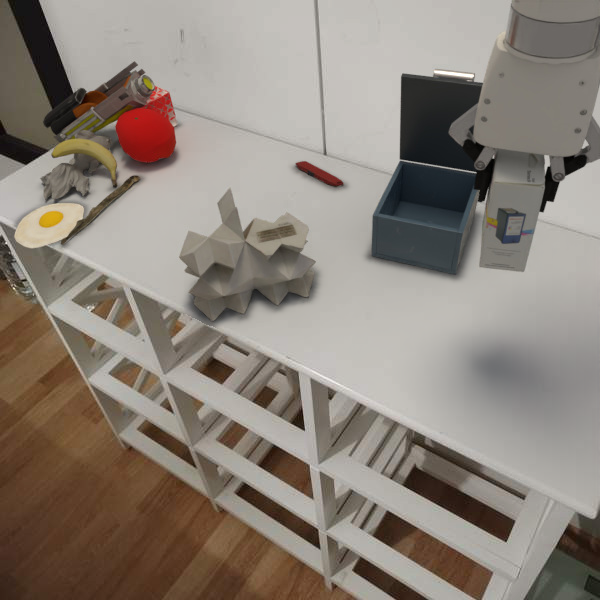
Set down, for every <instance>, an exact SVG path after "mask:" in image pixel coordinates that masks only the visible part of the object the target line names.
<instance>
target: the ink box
mask: <svg viewBox="0 0 600 600" xmlns="http://www.w3.org/2000/svg"><path fill="white" fill-rule="evenodd" d="M493 159H494V163H493V168H492V173H491V178H490V183H489V187H488V191H487V194H486V198H485V206H484V213H483V217H482V225H481V241H480V255H479V264H478V266H479V268H482V269H483V268H484V269H490V270H501V271H509V272H516V273H517V272H518V273H520V272H521V273H524V272H525V269H526V267H527V263H528V259H529V255H530V251H531V247H532V243H533V239H534V236H535V231H536V227H537V223H538V220H539V219H538V218H539V215H540V212H539V211H540V207H541V203H542V198H543V194H544V190H545V174H546V170H545V169H546V168H545V167H546V159H545V155H541V154H534V153H526V152H519V151H512V150H505V149H497V151H496V153H495V154H494V156H493Z"/></svg>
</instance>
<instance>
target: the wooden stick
mask: <svg viewBox="0 0 600 600" xmlns="http://www.w3.org/2000/svg"><path fill="white" fill-rule="evenodd" d="M140 180H141V177H140V176H139V175H136V174H135V175H131V176H129V177H128V178H127V179H126V180H125V181H124V182H123V183H122V184H121V185H120V186H119V187H117V188H116V189H115V190H113V191H112V192H111V193H109V194H108V195H107V196H105V197H104V198H103V199H102V200H101V201H100V202H99V203H98V204H96V206H94V207H91V210H89V213H88V214H87V215H86V217H84V218H83V219H82V220H79V221H77V224H76V226H75V227H74V229H73V230H72V231H71V232H70V233H69V235H68V236H67V237H65V238H63V239H62V240H60V245H61V246H63V245H65V244H66V242H68V240H69V239H71V238H72V237H73V236H74V235H76V234H77V233H79V232H80V231H81V230H83V229H84V228H85V227H87V226H88V225H89V224H90V223H91V222H92V221H93V220H94V219H95V218H96V217H97V216H98V215H99V214H100V213H101V212H102V211H103V210H104V209H105V208H106V207H108V206H109V205H110V204H111V203H112V202H113V201H114V200H116V199H117V198H118V197H120V196H121V195H122V194H123V193H125V192H126V191H127V190H129V188H130V187H131V186H132V185H133V184H134V183H137V182H139V181H140Z"/></svg>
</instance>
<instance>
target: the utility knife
mask: <svg viewBox="0 0 600 600" xmlns="http://www.w3.org/2000/svg"><path fill="white" fill-rule="evenodd" d="M295 166H296V167H297V168H298V170H301V171H302V172H304V173H307V175H308V176H311V177H312V178H315V179H317V180H318V181H321V182H323V183H324V184H327V185H329V186H333V187H338V186H343V185H344V182H343V180H342V179H340V178H339V177H337V176H335V175H333V174H331V173H330V172H327V171H326V170H324V169H321V168H320V167H318V166H316V165H314V164H312V163H310V162H308V161H306V160H301V161H298V162H295Z"/></svg>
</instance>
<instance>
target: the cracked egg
mask: <svg viewBox="0 0 600 600" xmlns="http://www.w3.org/2000/svg"><path fill="white" fill-rule="evenodd" d="M84 213H85V208H84V206H83V205H81V204H79V203H73V202H72V203H71V202H60V203H58V202H57V203H50V204H46V205H43V206H40V207H38V208H36V209H34V210H33V211H31V212H29V213H28V214H27V215H25V216H24V217H23V218H22V219H21V220H20V221H19V223H18V225H17V227H16V229H15V232H14V236H13V238H14V240H15V242H17V243H18V244H19V245H21V246H22V247H24V248H28V249H35V248H36V249H37V248H41V247H45V246H48V245H51V244H54V243H57V242H59V241H60V242H61V241H62V239H63V238H65V237H67V236H68V235H69V233H70V232H71V231H72V230H73V229H74V227H75V226H76V224H77V221H79V220H82V219H84Z"/></svg>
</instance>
